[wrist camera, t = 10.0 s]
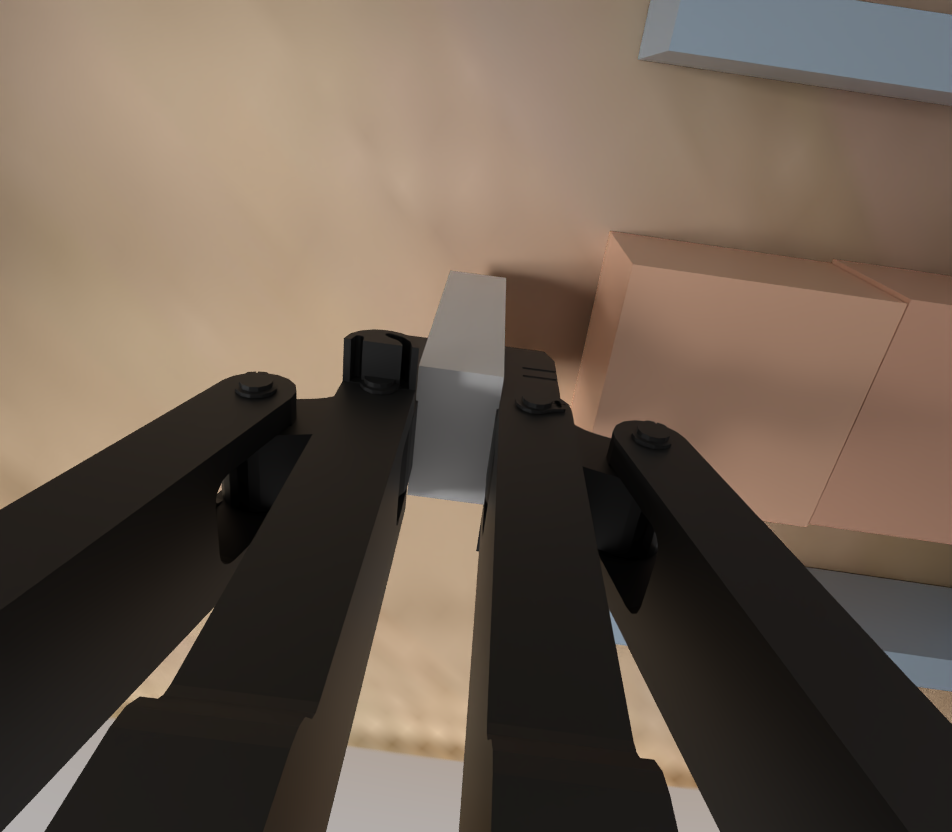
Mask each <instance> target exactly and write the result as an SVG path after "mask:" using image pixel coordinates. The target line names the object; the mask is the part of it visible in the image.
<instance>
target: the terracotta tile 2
mask: <svg viewBox="0 0 952 832" xmlns="http://www.w3.org/2000/svg"><path fill="white" fill-rule="evenodd" d="M832 264H834V265H836V266H838V267H839V268H841V269H843V270H845V271H847V272H849V273H851V274H853V275H854V276H856V277H858V278H860V279H862V280H864V281H866V282H868V283H870V284H871V285H873V286H875V287H877V288H879V289H881V290H883V291H885V292H887V293H888V294H890V295H892V296H894V297H896V298H898V299H900V300H902V301H904V302H905V303H907V306H906V309H905V311H904V313H903V315H902V317H901V320H900V322H899V324H898V326H897V328H896V331H895V333H894V335H893V337H892V340H891V342H890V344H889V346H888V348H887V351H886V353H885V355H884V357H883V359H882V362H881V364H880V366H879V368H878V371H877V373H876V375H875V377H874V379H873V382H872V384H871V386H870V388H869V390H868V393H867V395H866V397H865V399H864V402H863V404H862V406H861V408H860V410H859V413H858V415H857V417H856V419H855V421H854V424H853V426H852V428H851V430H850V433H849V435H848V437H847V439H846V441H845V444H844V446H843V448H842V450H841V452H840V455H839V457H838V459H837V461H836V464H835V466H834V468H833V470H832V472H831V475H830V477H829V479H828V481H827V483H826V486H825V488H824V490H823V492H822V495H821V497H820V499H819V501H818V503H817V506H816V508H815V510H814V512H813V514H812V517H811V519H810V521H809V523H808V524H812V525H819V526H826V527H833V528H840V529H846V530H853V531H860V532H867V533H874V534H881V535H888V536H895V537H902V538H909V539H916V540H923V541H930V542H937V543H944V544H951V545H952V276H948V275H941V274H934V273H927V272H920V271H913V270H907V269H900V268H893V267H886V266H879V265H872V264H865V263H858V262H852V261H845V260H838V259H833V260H832Z"/></svg>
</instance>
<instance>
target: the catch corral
mask: <svg viewBox="0 0 952 832" xmlns="http://www.w3.org/2000/svg"><path fill="white" fill-rule="evenodd" d="M638 60H645V61H651V62H658V63H665V64H672V65H678V66H685V67H692V68H698V69H705V70H712V71H719V72H725V73H732V74H739V75H746V76H752V77H759V78H766V79H773V80H779V81H786V82H793V83H799V84H806V85H813V86H820V87H826V88H833V89H840V90H847V91H853V92H860V93H867V94H873V95H880V96H887V97H894V98H900V99H907V100H914V101H921V102H927V103H934V104H941V105H947V106H952V15H950V14H944V13H937V12H930V11H923V10H917V9H910V8H903V7H897V6H890V5H883V4H877V3H870V2H863V1H857V0H650V5H649V9H648V14H647V19H646V23H645V28H644V33H643V37H642V42H641V46H640V51H639V56H638ZM806 568H807V569H808V570H809V572H810V573H811V574H812V575H813V576H814V577H815V578H816V579H817V580H818V581H819V582H820V583H821V584H822V585H823V587H824V588H825V589H826V590H827V591H828V592H829V593H830V594H831V595H832V596H833V597H834V598H835V599H836V600H837V602H838V603H839V604H840V605H841V606H842V607H843V608H844V609H845V610H846V611H847V612H848V613H849V614H850V616H851V617H852V618H853V619H854V620H855V621H856V622H857V623H858V624H859V625H860V626H861V627H862V628H863V629H864V631H865V632H866V633H867V634H868V635H869V636H870V637H871V638H872V639H873V640H874V641H875V642H876V643H877V645H878V646H879V647H880V648H881V649H882V650H883V651H884V652H885V653H886V654H887V655H888V656H889V657H890V658H891V660H892V661H893V662H894V663H895V664H896V665H897V666H898V667H899V668H900V669H901V670H902V671H903V672H904V674H905V675H906V676H907V677H908V678H909V679H910V680H911V681H912V682H913V683H914V684H915V685H916V686H917V687H923V688H930V689H937V690H944V691H951V692H952V588H948V587H941V586H934V585H927V584H920V583H913V582H906V581H899V580H892V579H885V578H878V577H871V576H864V575H857V574H850V573H843V572H836V571H829V570H822V569H815V568H808V567H806ZM609 612H610V610H609ZM610 618H611V623H612V628H613V634H614V639H615V644H620V645H627V644H626V642H625V640H624V638H623V636H622V634H621V632H620V630H619V628H618V626H617V624H616V622H615V620H614V618H613V616H612V614H611V612H610Z"/></svg>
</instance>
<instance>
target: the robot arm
mask: <svg viewBox="0 0 952 832" xmlns="http://www.w3.org/2000/svg"><path fill="white" fill-rule="evenodd" d="M505 308H506V278H503V277H495V276H488V275H480V274H473V273H465V272H458V271H451V270H450V273H449V276H448V279H447V282H446V285H445V288H444V291H443V294H442V297H441V300H440V303H439V306H438V309H437V312H436V315H435V318H434V321H433V324H432V328H431V331H430V334H429V337H428V338H424V337H416V336H409V335H405V334H402V333H398V332H393V331H388V330H362V331H358V332H354V333H351V334H349V335H348V336H346V337H345V338H344V356H343V382H342V383H341V385H340V387H339V389H338V390H337V392H336V394H335V396H333V397H328V398H319V399H296V385H295V384H294V383H293V382H291V381H290V380H289V379H287V378H284V377H282V376H279V375H274V374H268V373H267V372H258V373H256V372H247V373H245V374H241V375H235V376H232V377H229V378H227V379H224V380H222V381H220V382H219V383H217V384H215V385H214V386H212V387H210V388H208V389H207V390H205V391H203V392H202V393H200V394H198V395H196V396H195V397H193V398H191V399H190V400H188V401H186V402H184V403H183V404H181V405H179V406H178V407H176V408H174V409H172V410H171V411H169V412H167V413H166V414H164V415H162V416H160V417H159V418H157V419H155V420H153V421H152V422H150V423H148V424H147V425H145V426H143V427H141V428H140V429H138V430H136V431H135V432H133V433H131V434H129V435H128V436H126V437H124V438H123V439H121V440H119V441H117V442H116V443H114V444H112V445H111V446H109V447H107V448H105V449H104V450H102V451H100V452H99V453H97V454H95V455H93V456H92V457H90V458H88V459H87V460H85V461H83V462H81V463H80V464H78V465H76V466H75V467H73V468H71V469H69V470H68V471H66V472H64V473H63V474H61V475H59V476H57V477H56V478H54V479H52V480H51V481H49V482H47V483H45V484H44V485H42V486H40V487H39V488H37V489H35V490H33V491H32V492H30V493H28V494H26V495H25V496H23V497H21V498H20V499H18V500H16V501H14V502H13V503H11V504H9V505H8V506H6V507H4V508H2V509H1V510H0V832H2V831H3V830H4V829H5V827H6V826H7V825H8V824H9V823H10V822H11V821H12V820H13V819H14V818H15V817H16V816H17V815H18V814H19V813H20V811H22V810H23V808H24V807H25V806H26V805H27V804H28V803H29V802H30V801H31V800H32V799H33V798H34V797H35V796H36V795H37V794H38V792H40V791H41V789H42V788H43V787H44V786H45V785H46V784H47V783H48V782H49V781H50V780H51V779H52V778H53V777H54V776H55V775H56V774H57V772H58V771H59V770H60V769H61V768H62V767H63V766H64V765H65V764H66V763H67V762H68V761H69V760H70V759H71V758H72V757H73V756H74V755H75V754H76V752H77V751H78V750H79V749H80V748H81V747H82V746H83V745H84V744H85V743H86V742H87V741H88V740H89V738H91V737H92V736H93V734H94V733H95V732H96V731H97V730H98V729H99V728H100V727H101V726H102V725H103V724H104V723H105V721H107V720H108V719H109V718H110V717H111V715H112V714H113V713H114V712H115V711H116V710H117V709H118V708H119V707H120V706H121V705H122V704H123V703H124V702H125V701H126V700H127V699H128V697H129V696H130V695H131V694H132V693H133V692H134V691H135V690H136V689H137V688H138V687H139V686H140V685H141V684H142V683H143V682H144V681H145V679H146V678H147V677H148V676H149V675H150V674H151V673H152V672H153V671H154V670H155V669H156V668H157V667H158V666H159V665H160V664H161V663H162V662H163V660H164V659H165V658H166V657H167V656H168V655H169V654H170V653H171V652H172V651H173V650H174V649H175V648H176V647H177V646H178V645H179V644H180V642H181V641H182V640H183V639H184V638H185V637H186V636H187V635H188V634H189V633H190V632H191V631H192V630H193V629H194V628H195V627H196V626H197V625H198V623H199V622H200V621H201V620H202V619H203V618H204V617H205V616H206V615H207V614H208V613H209V612H210V611H211V610H212V609H213V608H214V609H213V611H212V613H211V614H210V616H209V618H208V620H207V621H206V623H205V625H204V627H203V628H202V630H201V632H200V634H199V636H198V637H197V639H196V641H195V643H194V644H193V646H192V648H191V650H190V651H189V653H188V655H187V657H186V658H185V660H184V662H183V664H182V666H181V667H180V669H179V671H178V673H177V674H176V676H175V678H174V680H173V681H172V683H171V685H170V686H169V688H168V689H167V690H166V692H165V693H164V695H162V696H161V697H160V698H158V699H155V698H147V697H139V698H137V699H136V700H134V701H133V702H131V703H130V704H128V705H127V706H126V707H125V708H124V709H123V711H122V712H121V713H120V714H119V716H118V717H117V718H116V720H115V721H114V722H113V724H112V725H111V726H110V728H109V729H108V731H107V733H106V734H105V736H104V737H103V739H102V740H101V742H100V744H99V745H98V747H97V749H96V750H95V752H94V753H93V755H92V757H91V758H90V760H89V761H88V763H87V765H86V766H85V768H84V769H83V771H82V773H81V774H80V776H79V777H78V779H77V781H76V782H75V784H74V785H73V787H72V789H71V790H70V792H69V793H68V795H67V797H66V798H65V800H64V801H63V803H62V805H61V806H60V808H59V809H58V811H57V813H56V814H55V816H54V817H53V819H52V821H51V822H50V824H49V825H48V827H47V829H46V830H45V832H326V829H327V825H328V821H329V817H330V813H331V808H332V805H333V801H334V797H335V792H336V789H337V785H338V781H339V776H340V772H341V768H342V764H343V760H344V756H345V752H346V748H347V744H348V740H349V736H350V732H351V728H352V723H353V719H354V715H355V711H356V707H357V703H358V699H359V695H360V691H361V687H362V683H363V679H364V675H365V671H366V666H367V662H368V658H369V654H370V650H371V646H372V642H373V638H374V634H375V630H376V626H377V622H378V618H379V614H380V609H381V605H382V601H383V597H384V593H385V589H386V585H387V581H388V577H389V573H390V569H391V565H392V561H393V557H394V552H395V548H396V544H397V540H398V536H399V532H400V528H401V524H402V520H403V516H404V512H405V504H406V493H407V485H408V494H407V495H414V496H421V497H429V498H437V499H444V500H452V501H460V502H468V503H475V504H483V512H482V518H481V525H480V531H479V537H478V544H477V550H476V551H479V559H478V573H477V587H476V601H475V615H474V629H473V643H472V656H471V670H470V684H469V698H468V712H467V726H466V740H465V754H464V768H463V783H462V797H461V809H460V824H459V832H678V829H677V824H676V820H675V815H674V811H673V806H672V802H671V797H670V794H669V790H668V787H667V784H666V781H665V778H664V774H663V772H662V770H661V769H660V767H659V766H658V764H657V763H656V762H655V760H652V759H644V758H640V757H639V756H638V754H637V752H636V749H635V745H634V741H633V736H632V731H631V725H630V720H629V715H628V709H627V704H626V698H625V693H624V688H623V682H622V677H621V671H620V666H619V661H618V655H617V650H616V645H615V639H614V634H613V628H612V623H611V618H610V612H611V614H612V616H613V618H614V620H615V622H616V624H617V626H618V628H619V630H620V632H621V634H622V636H623V638H624V640H625V642H626V644H627V646H628V648H629V650H630V652H631V654H632V656H633V658H634V660H635V662H636V664H637V666H638V668H639V670H640V672H641V674H642V676H643V678H644V680H645V682H646V684H647V686H648V688H649V690H650V692H651V694H652V696H653V698H654V700H655V702H656V704H657V706H658V708H659V710H660V712H661V714H662V716H663V718H664V720H665V722H666V724H667V726H668V728H669V730H670V732H671V734H672V736H673V738H674V740H675V742H676V744H677V746H678V748H679V750H680V752H681V754H682V756H683V758H684V760H685V762H686V764H687V766H688V768H689V770H690V772H691V774H692V776H693V778H694V780H695V782H696V784H697V786H698V788H699V790H700V792H701V794H702V796H703V798H704V800H705V802H706V804H707V806H708V808H709V810H710V812H711V814H712V816H713V818H714V820H715V822H716V824H717V826H718V828H719V830H720V832H952V724H951V723H950V722H949V721H948V720H947V719H946V718H945V716H944V715H943V714H942V713H941V712H940V711H939V710H938V709H937V708H936V707H935V706H934V705H933V704H932V702H931V701H930V700H929V699H928V698H927V697H926V696H925V695H924V694H923V693H922V692H921V691H920V690H919V689H918V687H917V686H916V685H915V684H914V683H913V682H912V681H911V680H910V679H909V678H908V677H907V676H906V675H905V674H904V672H903V671H902V670H901V669H900V668H899V667H898V666H897V665H896V664H895V663H894V662H893V661H892V660H891V658H890V657H889V656H888V655H887V654H886V653H885V652H884V651H883V650H882V649H881V648H880V647H879V646H878V645H877V643H876V642H875V641H874V640H873V639H872V638H871V637H870V636H869V635H868V634H867V633H866V632H865V631H864V629H863V628H862V627H861V626H860V625H859V624H858V623H857V622H856V621H855V620H854V619H853V618H852V617H851V616H850V614H849V613H848V612H847V611H846V610H845V609H844V608H843V607H842V606H841V605H840V604H839V603H838V602H837V600H836V599H835V598H834V597H833V596H832V595H831V594H830V593H829V592H828V591H827V590H826V589H825V588H824V587H823V585H822V584H821V583H820V582H819V581H818V580H817V579H816V578H815V577H814V576H813V575H812V574H811V573H810V572H809V570H808V569H807V568H806V567H805V566H804V565H803V564H802V563H801V562H800V561H799V560H798V559H797V558H796V556H795V555H794V554H793V553H792V552H791V551H790V550H789V549H788V548H787V547H786V546H785V545H784V544H783V543H782V541H781V540H780V539H779V538H778V537H777V536H776V535H775V534H774V533H773V532H772V531H771V530H770V529H769V527H768V526H767V525H766V524H765V523H764V522H763V521H762V520H761V519H760V518H759V517H758V516H757V515H756V514H755V512H754V511H753V510H752V509H751V508H750V507H749V506H748V505H747V504H746V503H745V502H744V501H743V500H742V499H741V497H740V496H739V495H738V494H737V493H736V492H735V491H734V490H733V489H732V488H731V487H730V486H729V485H728V483H727V482H726V481H725V480H724V479H723V478H722V477H721V476H720V475H719V474H718V473H717V472H716V471H715V470H714V468H713V467H712V466H711V465H710V464H709V463H708V462H707V461H706V460H705V459H704V458H703V457H702V456H701V454H700V453H699V452H698V451H697V450H696V449H695V448H694V447H693V446H692V445H691V444H690V443H689V442H688V441H687V439H685V438H684V437H683V436H682V435H680V434H679V433H678V432H676V431H674V430H672V429H670V428H668V427H666V426H665V425H664V424H661V423H658V422H657V424H656V423H655V422H654V421H649V420H646V421H639V420H632V421H623V422H621V423H619V424H617V425H616V426H615V428H614V430H613V432H612V436H611V438H608V437H605V436H602V435H598V434H595V433H592V432H590V431H587V430H584V429H582V428H580V427H578V426H576V425H575V424H574V419H573V413H572V410H571V408H570V407H569V405H568V404H567V403H566V402H564V401H563V400H561V399H560V393H559V387H558V381H557V375H556V368H555V362H554V361H553V360H552V359H551V358H550V357H549V356H548V355H547V354H546V353H545V352H542V351H534V350H527V349H519V348H511V347H505ZM408 481H409V483H408ZM221 484H222V490H221V491H220V492H219V493H218V494H217V492H218V490H219V488H220V485H221ZM215 605H216V606H215ZM609 610H610V612H609Z"/></svg>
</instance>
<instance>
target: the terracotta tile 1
mask: <svg viewBox="0 0 952 832" xmlns="http://www.w3.org/2000/svg"><path fill="white" fill-rule="evenodd" d="M906 306H907V303H905V302H904V301H902V300H900V299H898V298H896V297H894V296H892V295H890V294H888V293H887V292H885V291H883V290H881V289H879V288H877V287H875V286H873V285H871V284H870V283H868V282H866V281H864V280H862V279H860V278H858V277H856V276H854V275H853V274H851V273H849V272H847V271H845V270H843V269H841V268H839V267H838V266H836V265H834V264H832V263H829V262H822V261H815V260H808V259H801V258H794V257H787V256H780V255H774V254H767V253H760V252H753V251H746V250H739V249H732V248H725V247H718V246H711V245H704V244H697V243H690V242H683V241H677V240H670V239H663V238H656V237H649V236H642V235H635V234H628V233H621V232H614V231H610V232H609V237H608V242H607V246H606V251H605V255H604V260H603V264H602V269H601V273H600V278H599V282H598V287H597V291H596V296H595V300H594V305H593V309H592V314H591V319H590V323H589V328H588V332H587V337H586V341H585V346H584V350H583V355H582V359H581V364H580V368H579V373H578V377H577V382H576V386H575V391H574V395H573V400H572V405H571V410H572V413H573V419H574V424H575V425H576V426H578V427H580V428H582V429H584V430H587V431H590V432H592V433H595V434H598V435H602V436H605V437H608V438H611V436H612V432H613V430H614V428H615V426H616V425H617V424H619V423H621V422H623V421H632V420H639V421H646V420H649V421H654V422H655V423H656V424H657V422H658V423H661V424H664V425H665V426H666V427H668V428H670V429H672V430H674V431H676V432H678V433H679V434H680V435H682V436H683V437H684V438H685V439H687V441H688V442H689V443H690V444H691V445H692V446H693V447H694V448H695V449H696V450H697V451H698V452H699V453H700V454H701V456H702V457H703V458H704V459H705V460H706V461H707V462H708V463H709V464H710V465H711V466H712V467H713V468H714V470H715V471H716V472H717V473H718V474H719V475H720V476H721V477H722V478H723V479H724V480H725V481H726V482H727V483H728V485H729V486H730V487H731V488H732V489H733V490H734V491H735V492H736V493H737V494H738V495H739V496H740V497H741V499H742V500H743V501H744V502H745V503H746V504H747V505H748V506H749V507H750V508H751V509H752V510H753V511H754V512H755V514H756V515H757V516H758V517H759V518H760V519H761V520H762V521H766V522H773V523H780V524H787V525H794V526H802V527H807V526H808V523H809V521H810V519H811V517H812V514H813V512H814V510H815V508H816V506H817V503H818V501H819V499H820V497H821V495H822V492H823V490H824V488H825V486H826V483H827V481H828V479H829V477H830V475H831V472H832V470H833V468H834V466H835V464H836V461H837V459H838V457H839V455H840V452H841V450H842V448H843V446H844V444H845V441H846V439H847V437H848V435H849V433H850V430H851V428H852V426H853V424H854V421H855V419H856V417H857V415H858V413H859V410H860V408H861V406H862V404H863V402H864V399H865V397H866V395H867V393H868V390H869V388H870V386H871V384H872V382H873V379H874V377H875V375H876V373H877V371H878V368H879V366H880V364H881V362H882V359H883V357H884V355H885V353H886V351H887V348H888V346H889V344H890V342H891V340H892V337H893V335H894V333H895V331H896V328H897V326H898V324H899V322H900V320H901V317H902V315H903V313H904V311H905V309H906Z"/></svg>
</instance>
